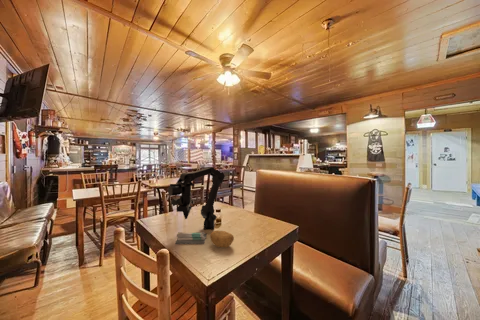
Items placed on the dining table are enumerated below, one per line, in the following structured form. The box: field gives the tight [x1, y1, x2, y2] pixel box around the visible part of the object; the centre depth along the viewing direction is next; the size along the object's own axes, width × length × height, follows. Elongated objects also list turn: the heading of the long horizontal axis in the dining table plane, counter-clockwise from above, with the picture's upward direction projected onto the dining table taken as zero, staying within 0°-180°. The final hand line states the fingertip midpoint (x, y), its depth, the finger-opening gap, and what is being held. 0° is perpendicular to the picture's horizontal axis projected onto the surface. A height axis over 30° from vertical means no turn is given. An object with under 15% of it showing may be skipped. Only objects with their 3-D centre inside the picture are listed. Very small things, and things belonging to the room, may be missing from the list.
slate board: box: [174, 233, 208, 245], centre depth 109 cm, size 16×11×2 cm
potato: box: [209, 230, 235, 249], centre depth 102 cm, size 10×14×8 cm
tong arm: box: [176, 231, 206, 239], centre depth 107 cm, size 16×2×2 cm, turn 90°
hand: (186, 218), depth 113 cm, fingers closed
